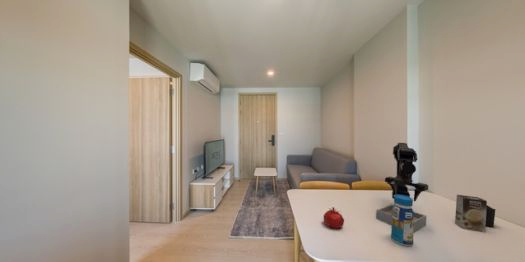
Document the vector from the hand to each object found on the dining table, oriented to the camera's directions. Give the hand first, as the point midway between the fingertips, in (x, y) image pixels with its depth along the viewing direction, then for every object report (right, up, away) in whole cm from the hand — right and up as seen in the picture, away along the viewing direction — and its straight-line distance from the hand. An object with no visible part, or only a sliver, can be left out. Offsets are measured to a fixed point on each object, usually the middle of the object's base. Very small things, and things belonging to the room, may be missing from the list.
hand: (404, 198), depth 104 cm
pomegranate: (-43, -11, -8) cm, 45 cm away
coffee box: (+30, -14, -5) cm, 34 cm away
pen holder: (+43, -14, 0) cm, 45 cm away
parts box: (-4, -12, -2) cm, 13 cm away
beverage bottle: (-17, -12, -20) cm, 29 cm away
